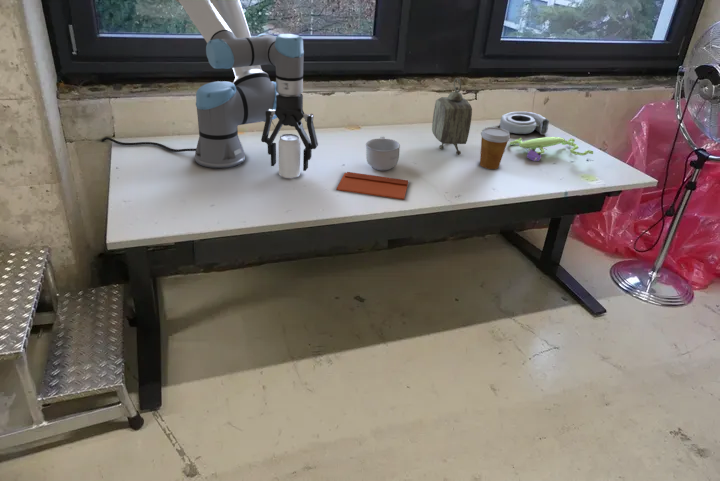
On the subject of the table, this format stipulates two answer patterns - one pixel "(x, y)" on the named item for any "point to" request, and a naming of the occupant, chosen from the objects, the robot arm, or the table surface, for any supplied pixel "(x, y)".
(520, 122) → the turbocharger housing
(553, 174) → the table surface
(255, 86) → the robot arm
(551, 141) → the figurine
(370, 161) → the teacup
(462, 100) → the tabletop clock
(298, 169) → the can
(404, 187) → the orange envelope wallet
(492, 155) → the disposable coffee cup
